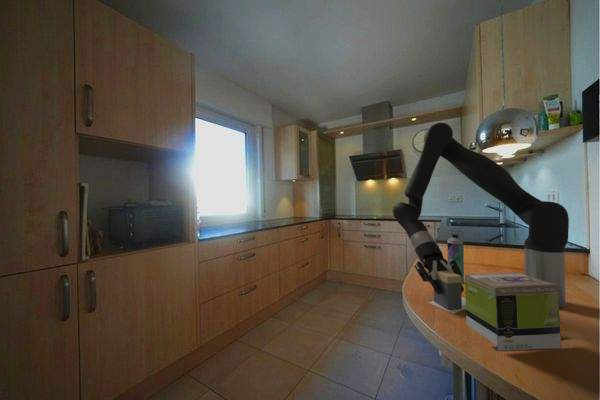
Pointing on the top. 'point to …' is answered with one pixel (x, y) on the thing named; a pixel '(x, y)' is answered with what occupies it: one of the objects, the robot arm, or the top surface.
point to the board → (452, 310)
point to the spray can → (456, 252)
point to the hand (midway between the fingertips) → (451, 292)
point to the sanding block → (449, 290)
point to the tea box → (513, 310)
